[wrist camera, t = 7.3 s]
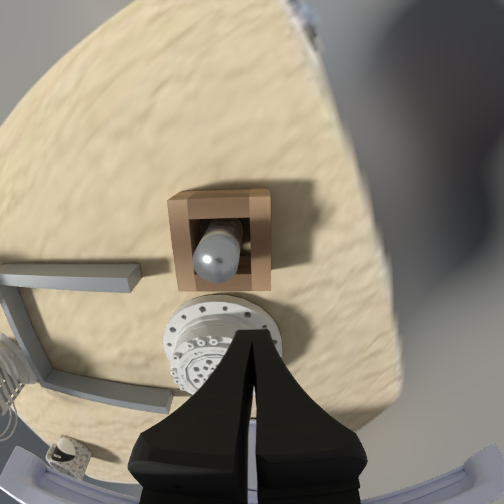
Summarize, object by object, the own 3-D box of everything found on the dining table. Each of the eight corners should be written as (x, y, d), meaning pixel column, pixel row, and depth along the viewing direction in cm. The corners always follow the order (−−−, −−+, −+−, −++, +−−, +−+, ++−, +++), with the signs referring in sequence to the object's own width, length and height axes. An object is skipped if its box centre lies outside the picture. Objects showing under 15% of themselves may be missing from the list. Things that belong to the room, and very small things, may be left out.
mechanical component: (291, 370, 25) (265, 279, 22) (296, 405, 21) (266, 311, 18) (192, 386, 26) (149, 305, 23) (185, 419, 22) (130, 337, 19)
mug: (77, 438, 34) (64, 466, 27) (98, 457, 36) (88, 484, 30) (44, 429, 35) (31, 454, 28) (64, 449, 37) (54, 472, 31)
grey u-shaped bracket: (173, 396, 27) (168, 414, 24) (50, 374, 27) (41, 386, 25) (139, 263, 21) (127, 277, 19) (4, 263, 21) (-10, 273, 19)
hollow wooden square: (269, 270, 21) (270, 290, 18) (188, 271, 21) (178, 291, 18) (268, 188, 19) (270, 196, 16) (180, 191, 19) (167, 200, 16)
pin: (243, 246, 20) (239, 282, 15) (210, 247, 20) (195, 283, 15) (242, 213, 20) (237, 239, 14) (207, 214, 20) (190, 241, 14)
